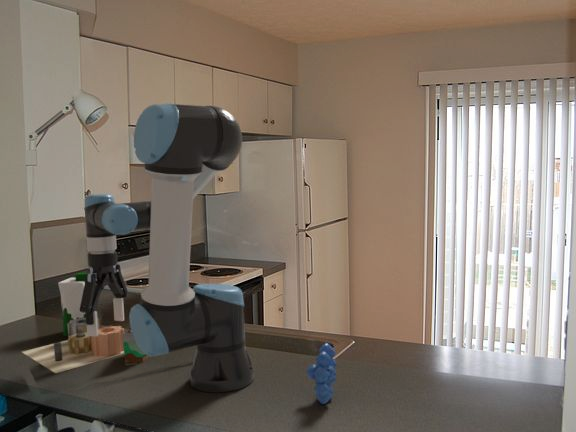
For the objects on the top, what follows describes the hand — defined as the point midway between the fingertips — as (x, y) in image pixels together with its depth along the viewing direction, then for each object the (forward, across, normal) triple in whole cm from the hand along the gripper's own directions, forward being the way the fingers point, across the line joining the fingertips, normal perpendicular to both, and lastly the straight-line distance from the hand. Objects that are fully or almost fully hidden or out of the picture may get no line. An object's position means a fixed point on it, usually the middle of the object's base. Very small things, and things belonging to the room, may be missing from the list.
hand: (106, 327), depth 152 cm
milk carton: (+9, -15, -18) cm, 25 cm away
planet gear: (+7, 0, 0) cm, 7 cm away
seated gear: (+7, -7, -12) cm, 15 cm away
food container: (+8, +4, +12) cm, 15 cm away
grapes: (+7, +19, +62) cm, 66 cm away
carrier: (+8, 0, -8) cm, 11 cm away
